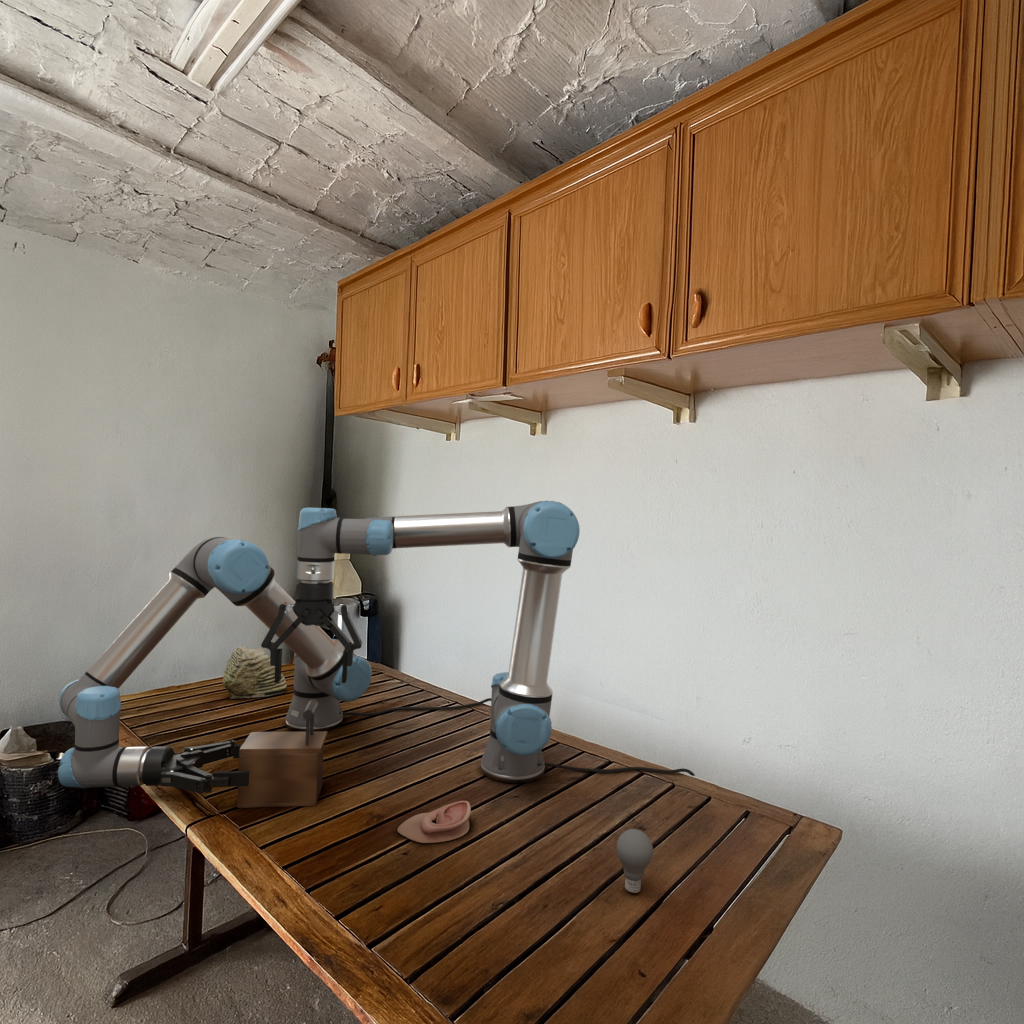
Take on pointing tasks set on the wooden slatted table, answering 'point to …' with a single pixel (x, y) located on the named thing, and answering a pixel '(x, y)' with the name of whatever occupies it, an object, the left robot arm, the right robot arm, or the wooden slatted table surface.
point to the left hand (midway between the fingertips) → (257, 764)
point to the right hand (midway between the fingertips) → (311, 681)
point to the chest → (281, 780)
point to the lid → (287, 739)
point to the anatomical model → (438, 824)
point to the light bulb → (634, 857)
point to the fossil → (251, 674)
